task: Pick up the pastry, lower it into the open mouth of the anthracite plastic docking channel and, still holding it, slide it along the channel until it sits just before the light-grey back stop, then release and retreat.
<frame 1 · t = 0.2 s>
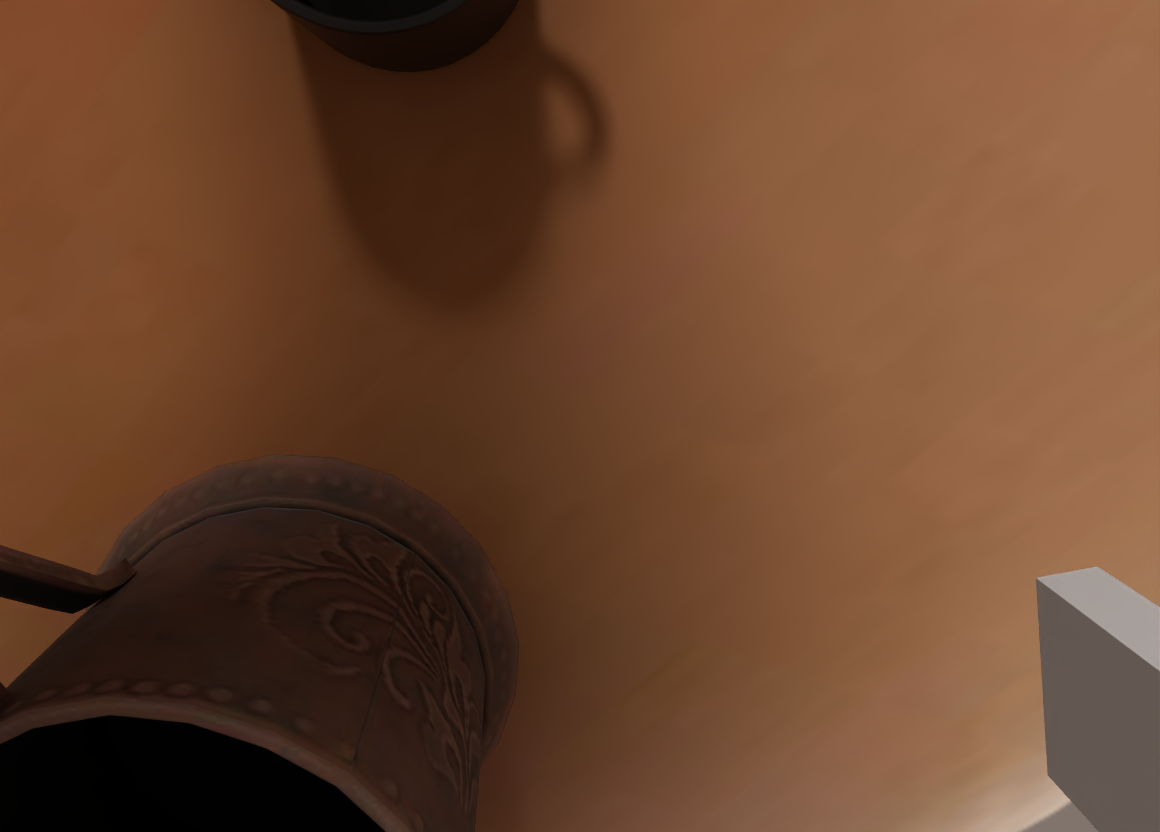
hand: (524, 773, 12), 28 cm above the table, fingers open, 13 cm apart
brown pitcher: (265, 610, 40), on the table
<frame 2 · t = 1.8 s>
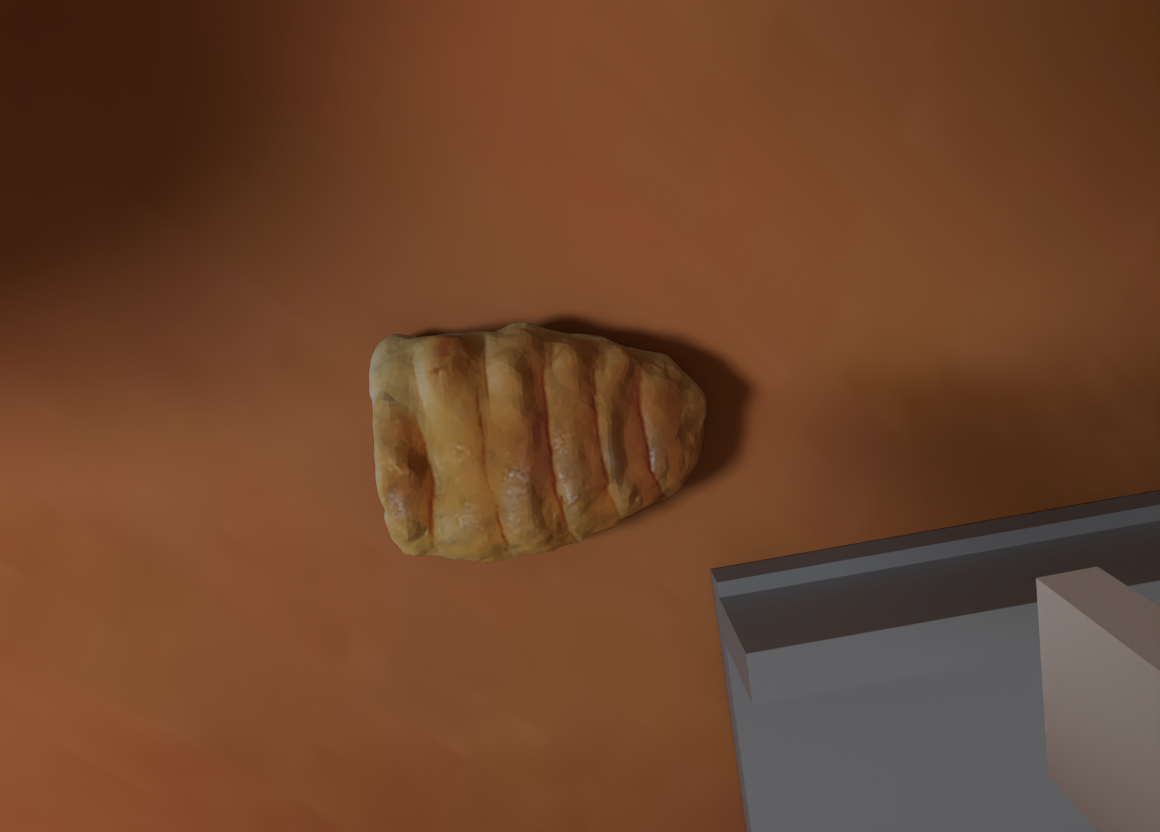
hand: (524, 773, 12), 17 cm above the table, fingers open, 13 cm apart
pastry: (515, 421, 28), on the table
dock: (1042, 754, 31), on the table
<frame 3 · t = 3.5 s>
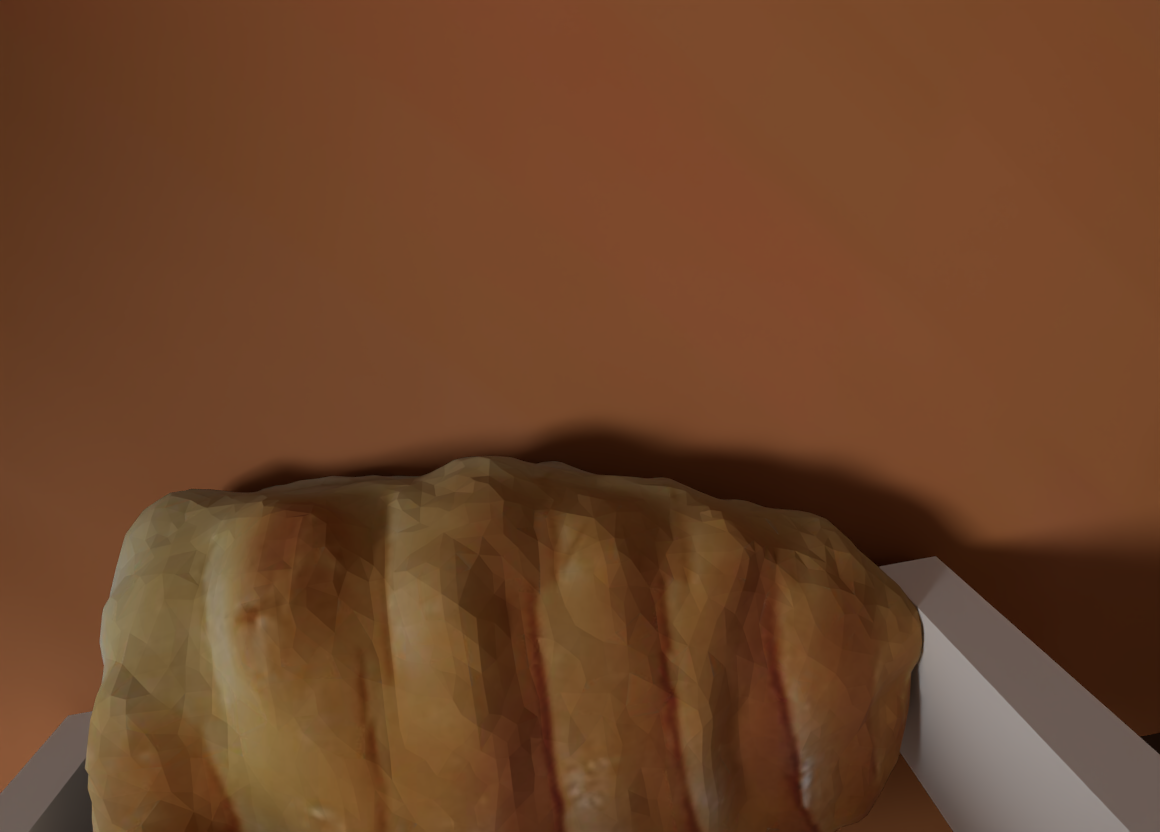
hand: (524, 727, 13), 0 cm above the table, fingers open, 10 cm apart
pastry: (479, 648, 13), on the table, touching gripper
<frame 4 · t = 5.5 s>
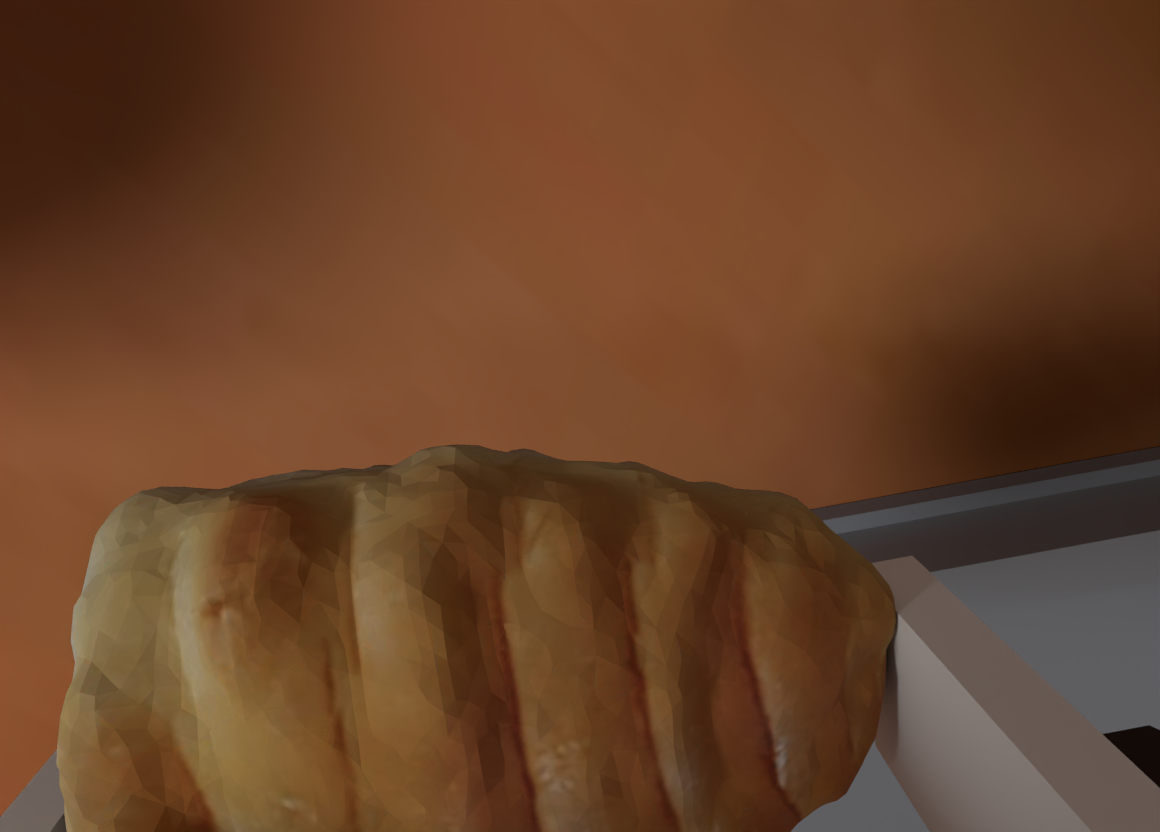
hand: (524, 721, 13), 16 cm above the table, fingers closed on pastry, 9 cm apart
pastry: (459, 639, 13), point 15 cm above the table, touching gripper
dock: (1018, 717, 31), on the table
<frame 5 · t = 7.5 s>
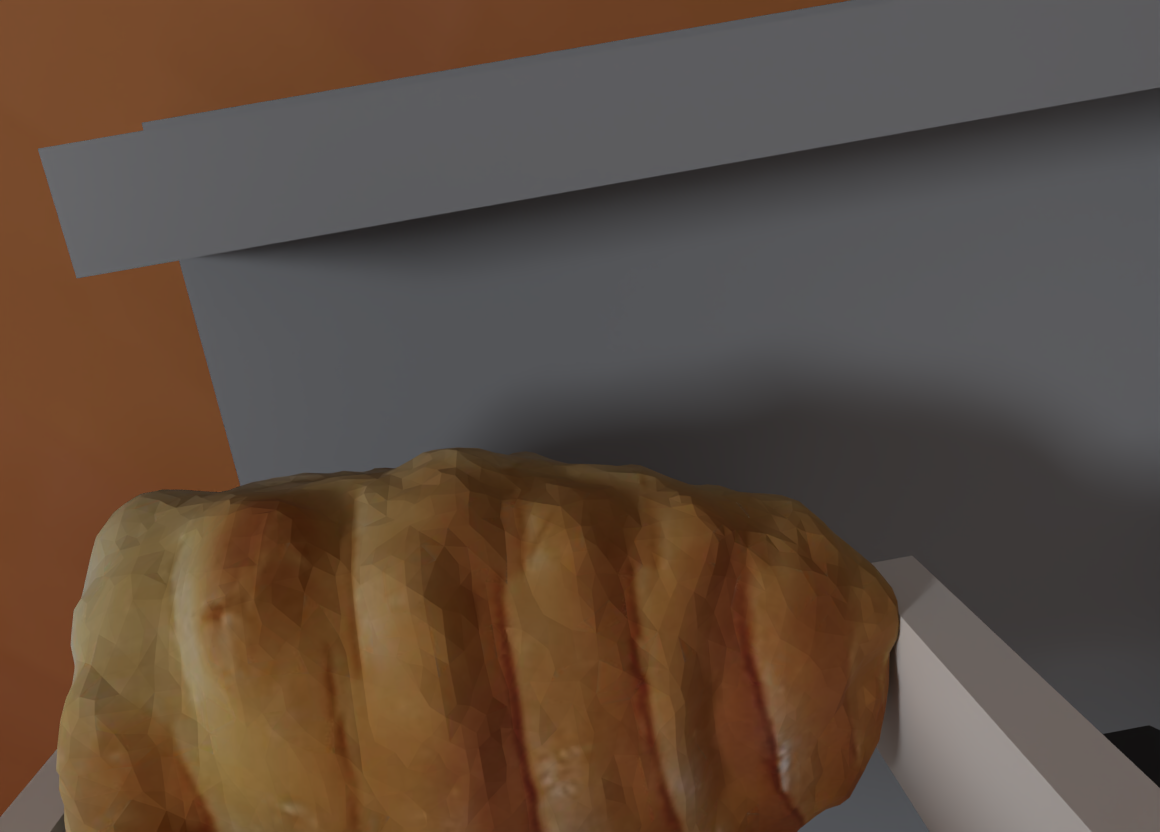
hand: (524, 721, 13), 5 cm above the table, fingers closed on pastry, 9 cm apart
pastry: (460, 642, 13), point 4 cm above the table, touching gripper
dock: (833, 509, 17), on the table
when the fingers open (1 cm above the table, at t = 10.6 s): pastry stays where it is, resting on dock.
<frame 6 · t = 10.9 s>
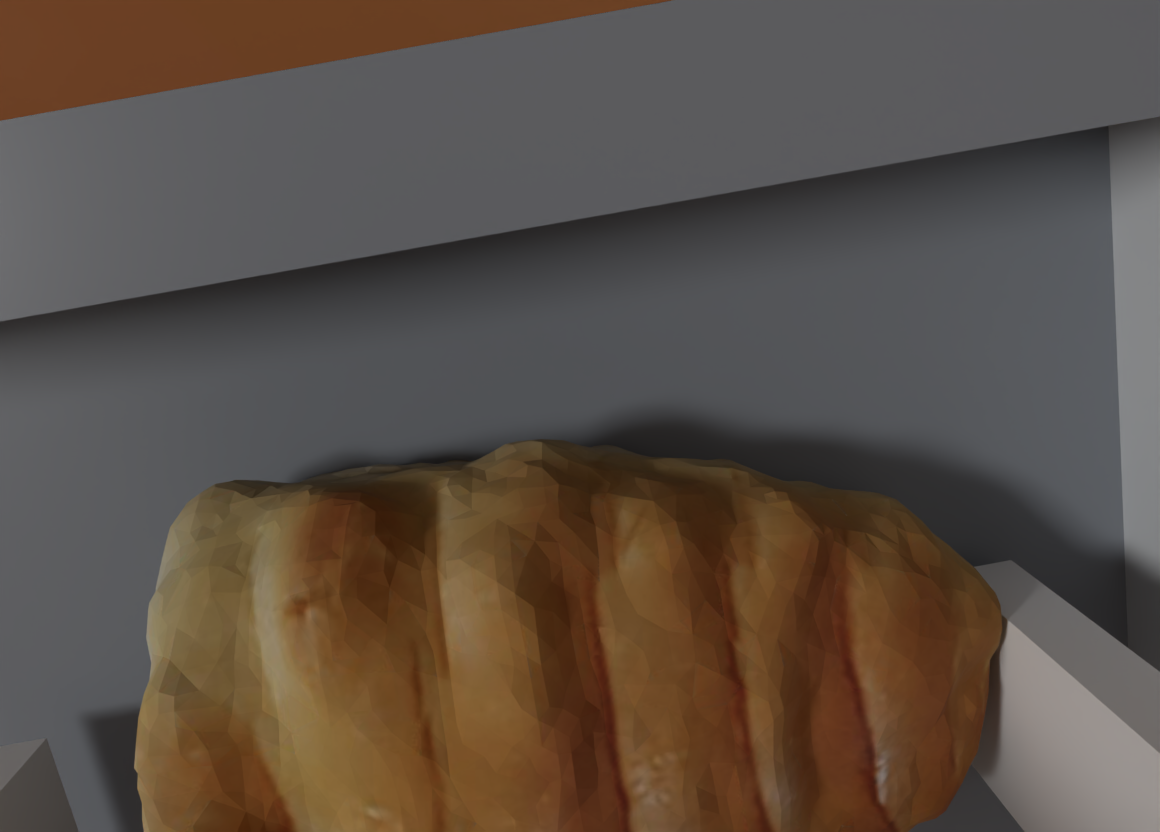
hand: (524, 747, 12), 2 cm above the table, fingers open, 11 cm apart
pastry: (532, 641, 13), point 1 cm above the table, touching dock
dock: (497, 692, 14), on the table
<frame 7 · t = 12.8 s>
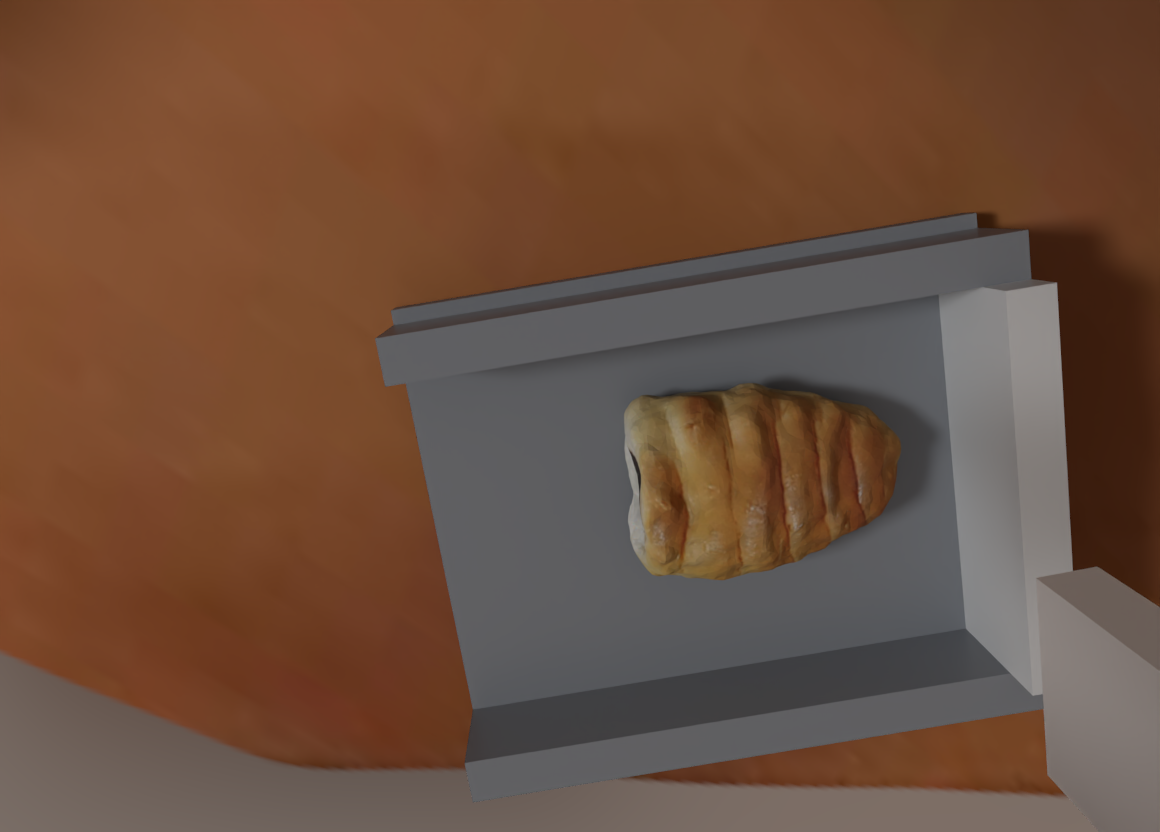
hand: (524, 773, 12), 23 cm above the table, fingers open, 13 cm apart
pastry: (732, 463, 34), point 1 cm above the table, touching dock
dock: (711, 491, 35), on the table
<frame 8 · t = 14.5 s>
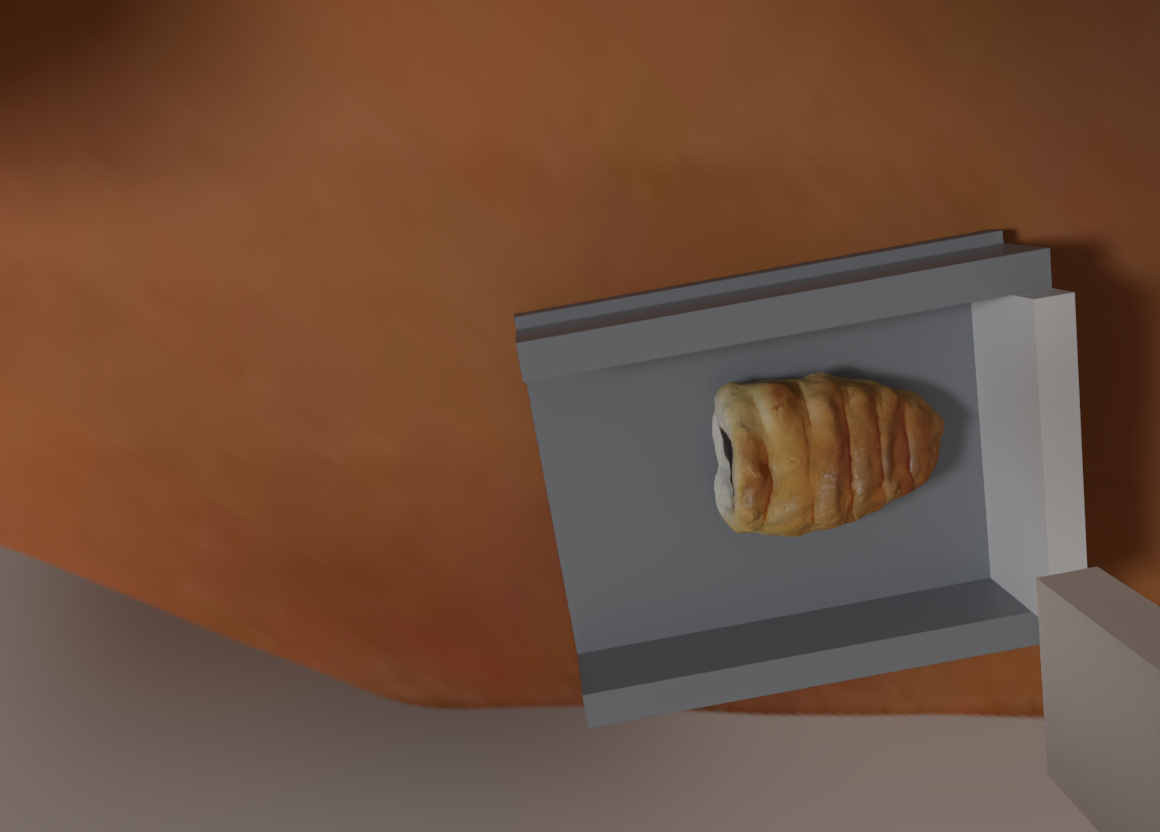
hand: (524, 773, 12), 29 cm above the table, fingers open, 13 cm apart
pastry: (799, 439, 40), point 1 cm above the table, touching dock
dock: (778, 466, 41), on the table
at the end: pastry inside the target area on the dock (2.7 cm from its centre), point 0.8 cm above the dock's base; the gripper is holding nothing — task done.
